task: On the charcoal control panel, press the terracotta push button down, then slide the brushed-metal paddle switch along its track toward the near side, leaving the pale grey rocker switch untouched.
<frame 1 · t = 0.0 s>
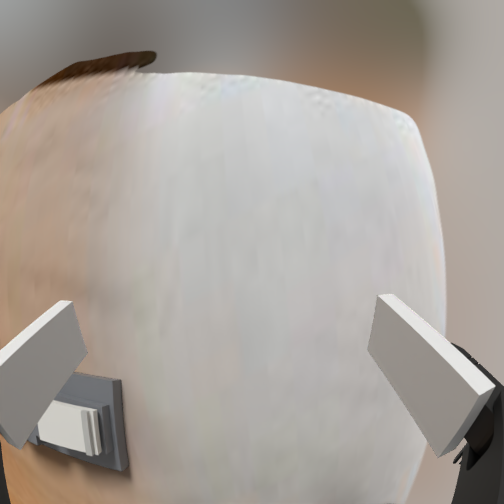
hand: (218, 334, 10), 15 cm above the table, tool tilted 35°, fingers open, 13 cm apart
rocker switch: (65, 426, 16), point 5 cm above the table, hinge at 12.0°
panel: (40, 402, 21), on the table
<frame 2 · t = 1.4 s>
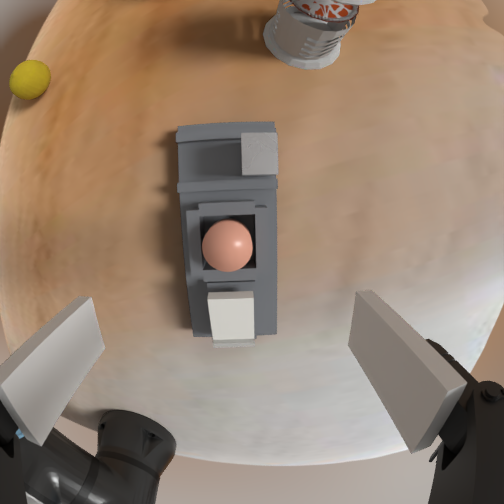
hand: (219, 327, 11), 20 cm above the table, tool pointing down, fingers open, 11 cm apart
slide switch: (257, 156, 24), point 5 cm above the table, slide at 0.0 cm
rocker switch: (232, 322, 27), point 5 cm above the table, hinge at 12.0°
lemon: (47, 86, 24), on the table
french press: (307, 35, 25), on the table
panel: (229, 233, 31), on the table
push button: (227, 244, 25), point 5 cm above the table, slide at 0.0 cm
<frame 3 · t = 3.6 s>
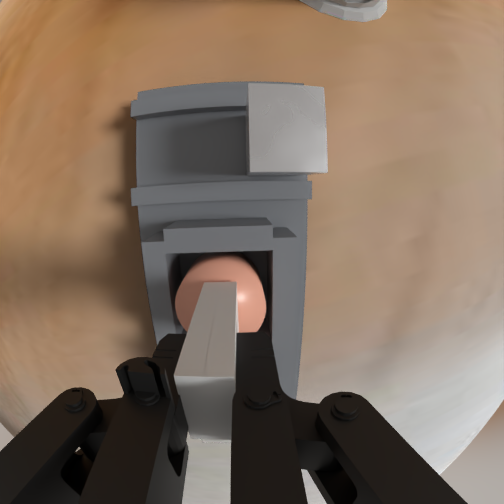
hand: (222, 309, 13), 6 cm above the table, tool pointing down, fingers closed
slide switch: (279, 136, 12), point 5 cm above the table, slide at 0.0 cm
rocker switch: (230, 415, 15), point 5 cm above the table, hinge at 12.0°
panel: (225, 271, 18), on the table
push button: (221, 296, 14), point 4 cm above the table, slide at 1.3 cm, touching gripper
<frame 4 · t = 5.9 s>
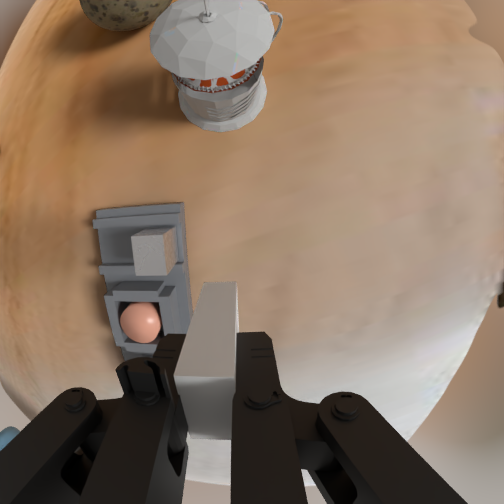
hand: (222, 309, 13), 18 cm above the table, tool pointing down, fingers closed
slide switch: (156, 249, 25), point 5 cm above the table, slide at 0.0 cm
french press: (228, 86, 26), on the table
panel: (152, 304, 32), on the table
decorative egg: (144, 15, 22), on the table
push button: (142, 319, 28), point 4 cm above the table, slide at 1.6 cm
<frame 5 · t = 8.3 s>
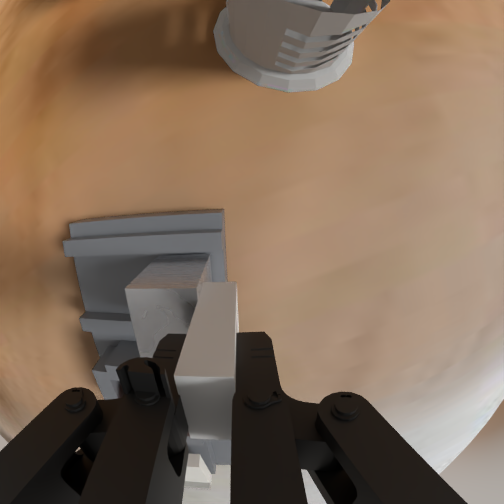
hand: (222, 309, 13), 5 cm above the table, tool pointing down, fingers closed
slide switch: (177, 303, 13), point 5 cm above the table, slide at 0.2 cm, touching gripper
rocker switch: (180, 472, 16), point 5 cm above the table, hinge at 12.0°
french press: (294, 28, 14), on the table
panel: (170, 367, 20), on the table
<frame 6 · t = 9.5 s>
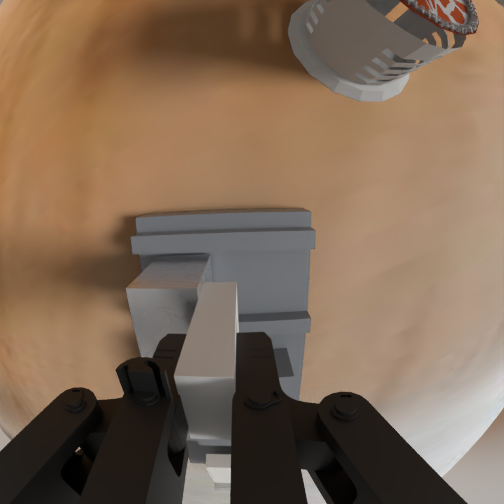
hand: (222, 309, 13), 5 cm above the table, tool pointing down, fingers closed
slide switch: (178, 303, 13), point 5 cm above the table, slide at 5.1 cm, touching gripper
rocker switch: (238, 474, 17), point 5 cm above the table, hinge at 12.0°
french press: (360, 40, 14), on the table
panel: (232, 368, 20), on the table
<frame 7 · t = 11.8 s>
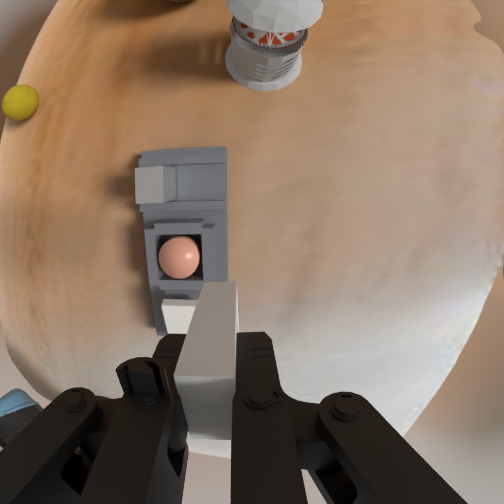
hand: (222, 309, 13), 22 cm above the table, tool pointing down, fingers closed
slide switch: (156, 184, 27), point 5 cm above the table, slide at 5.2 cm
rocker switch: (184, 325, 31), point 5 cm above the table, hinge at 12.0°
lemon: (36, 106, 27), on the table
french press: (268, 55, 28), on the table
panel: (187, 246, 34), on the table
push button: (181, 255, 30), point 4 cm above the table, slide at 1.6 cm
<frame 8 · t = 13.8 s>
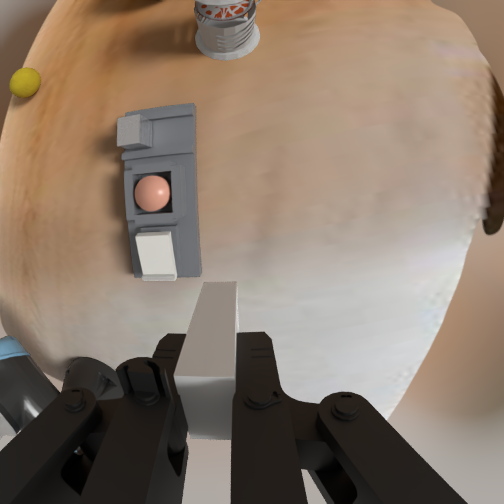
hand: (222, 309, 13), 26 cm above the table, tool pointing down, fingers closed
slide switch: (135, 133, 30), point 5 cm above the table, slide at 5.2 cm
rocker switch: (156, 258, 33), point 5 cm above the table, hinge at 12.0°
lemon: (38, 87, 30), on the table
french press: (231, 32, 31), on the table
panel: (162, 191, 37), on the table
push button: (154, 192, 33), point 4 cm above the table, slide at 1.6 cm
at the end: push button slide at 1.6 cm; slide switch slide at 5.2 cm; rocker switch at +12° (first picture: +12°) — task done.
